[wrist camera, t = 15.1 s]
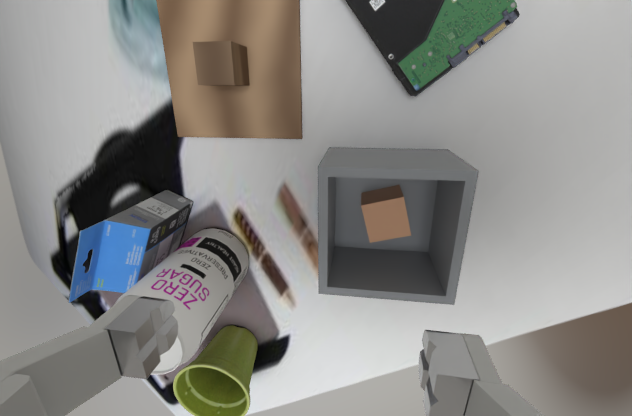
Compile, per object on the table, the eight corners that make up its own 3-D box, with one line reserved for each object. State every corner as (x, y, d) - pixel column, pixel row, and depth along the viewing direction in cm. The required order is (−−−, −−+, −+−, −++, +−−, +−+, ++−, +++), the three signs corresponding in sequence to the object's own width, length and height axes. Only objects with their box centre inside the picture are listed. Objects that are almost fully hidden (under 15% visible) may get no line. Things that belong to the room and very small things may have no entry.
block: (399, 184, 32) (403, 196, 28) (406, 219, 33) (411, 235, 30) (361, 192, 33) (361, 205, 29) (369, 226, 34) (369, 242, 31)
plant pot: (239, 303, 42) (210, 354, 34) (282, 351, 44) (265, 409, 36) (194, 331, 45) (157, 383, 37) (236, 374, 47) (210, 432, 39)
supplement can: (195, 280, 42) (111, 374, 28) (185, 224, 39) (86, 298, 25) (253, 284, 41) (196, 385, 27) (247, 227, 38) (180, 306, 24)
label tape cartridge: (177, 257, 41) (105, 322, 30) (150, 245, 41) (67, 304, 29) (194, 201, 38) (121, 249, 26) (165, 187, 37) (78, 229, 26)
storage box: (447, 149, 31) (478, 170, 23) (432, 254, 36) (454, 304, 27) (329, 147, 33) (318, 166, 25) (328, 248, 37) (318, 293, 29)
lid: (300, -17, 29) (288, -37, 24) (303, 137, 34) (293, 144, 29) (160, -10, 31) (124, -28, 26) (182, 135, 35) (155, 142, 31)
